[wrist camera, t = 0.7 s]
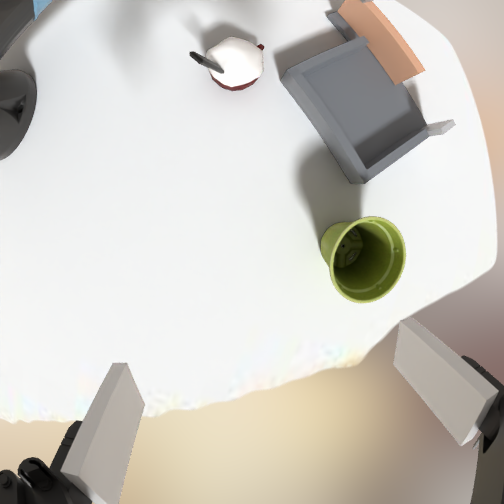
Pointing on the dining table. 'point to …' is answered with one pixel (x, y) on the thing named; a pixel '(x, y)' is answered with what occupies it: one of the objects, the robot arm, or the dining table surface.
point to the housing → (358, 106)
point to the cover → (382, 39)
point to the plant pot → (364, 258)
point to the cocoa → (233, 63)
